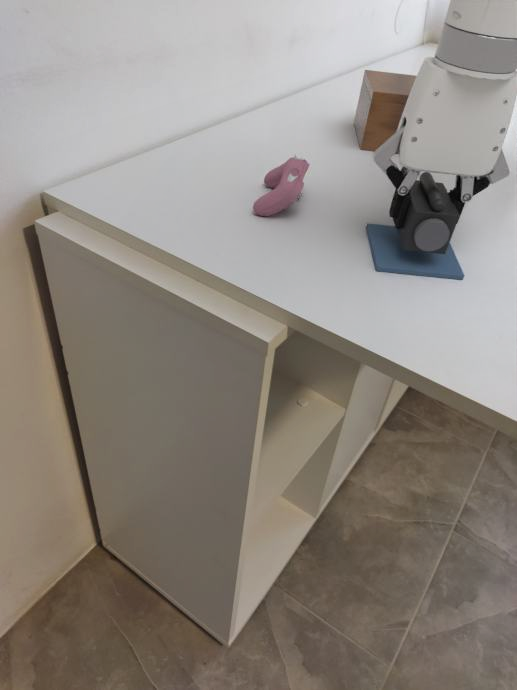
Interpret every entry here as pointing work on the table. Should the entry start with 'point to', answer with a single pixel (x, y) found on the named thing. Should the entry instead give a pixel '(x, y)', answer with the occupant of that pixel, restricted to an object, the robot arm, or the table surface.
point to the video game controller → (282, 187)
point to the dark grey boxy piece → (428, 217)
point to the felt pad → (409, 256)
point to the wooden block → (380, 107)
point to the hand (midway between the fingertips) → (420, 224)
